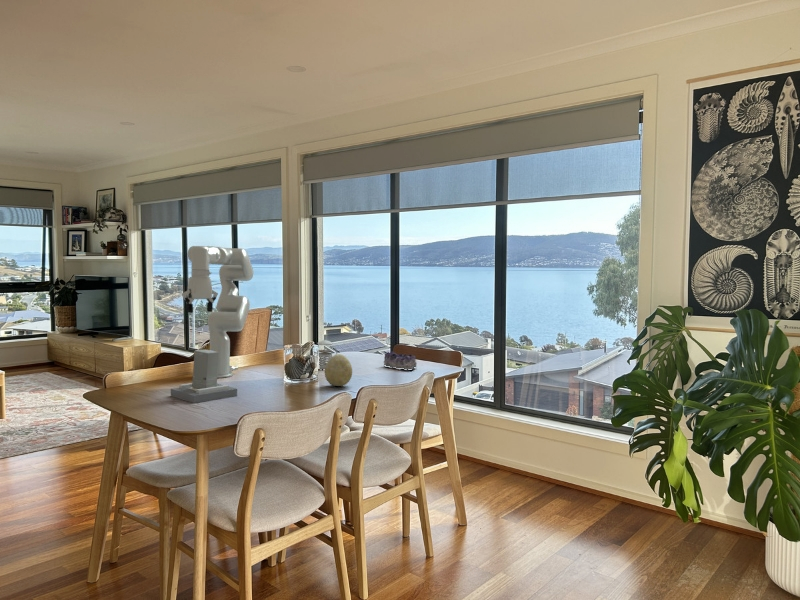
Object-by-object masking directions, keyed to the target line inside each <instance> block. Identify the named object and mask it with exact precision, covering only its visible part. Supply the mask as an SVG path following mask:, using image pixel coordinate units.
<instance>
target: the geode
mask: <svg viewBox="0 0 800 600" xmlns="http://www.w3.org/2000/svg"><path fill="white" fill-rule="evenodd" d="M383 360H384V361H383V366H384V365H386V366H390V367H396V368H404V369H413V368H414V367H416V368H417V360H416V356H415V355H413V354H402V353H399V354H397V353H396V352H395V351H393V350H391V351H390V352H389V351H387V352H386V353H384V359H383ZM414 369H415V368H414ZM414 369H413V370H414Z"/></svg>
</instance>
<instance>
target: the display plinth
mask: <svg viewBox="0 0 800 600" xmlns="http://www.w3.org/2000/svg"><path fill="white" fill-rule="evenodd" d="M178 386H179V387H174V388H170V397H173V398H176V399H179V400H183V401H186V402H189V403H193V404H198V403H203V402H209V401H210V402H211V401H215V399H216V400H220V399H221V398H222V399H227V397H228V398H232V397H238V388H236V387H231V386H230V385H228V384H220V383H217V386H216V387H210V388H203V389H196V388H192V382H190V383H183V384H179V385H178ZM222 399H221V400H222Z"/></svg>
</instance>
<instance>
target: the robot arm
mask: <svg viewBox="0 0 800 600" xmlns="http://www.w3.org/2000/svg"><path fill="white" fill-rule="evenodd" d="M187 258H188V260H189V261H190V262H191V271H190V273H191V276H189V278H188V283H187V290H186V291H184V292H183V293H181V296H182V298H183V300H184V302H185V303H186V305H187V306H186V309H187V313H188V314H189V313H190V314H192V313H193V312H194V304H193V302H194V301H195V300H206V301H207V302H206V312H209V315H208V318H207V325H208V326H207V327H208V331H209V333H208V334H209V350H212V351H216V352H219V359H218V374H217V379H218V378H219V379H221V378H222V379H223V378H229V377H232V376H233V375H234V373H233V371H238V370H239V366H236V365H235V366H231V364H230V362H231V361H230V360H231V359H230V357H231V355H230V354H231V353H230V352H231V339H230V337H229V335H228V334H227V332H242V330H243V329H244V328H245V324H246V321H247V318H248V314H249V311H250V300H249V299H248V297H247V296H244V295H239V294H240V293H239V292H240V291H239V290H240V289H239V288H238V287H237V286H236V284H235V283H234V282H235V281H236V282H238V281H240V282H248V281H251V280H252V279H253V277H254V270H253V269H254V268H253V266H252V263H251V260H250V259H251V258H250V257H249V254H248V252H247V251H246V249H244V248H239V247H238V248H234V247H233V248H231V247H222V246H209V245H207V246H206V245H192V246H190V247H189V248H188V250H187ZM210 265H221V266H220V267H219V269H218V273H219V280H220V285H221V291H220V294H219V293H218V292H216V291H214V290H213V287H212V286H213V285H212V279H211V277H210V275H211V274H212V271H210ZM233 281H234V282H233ZM218 295H219V296H218ZM217 296H218V299H217ZM216 300H217V303H216V311H214V312H213V310H214V309H213V307H214V306H213V304H214V303H215V301H216Z"/></svg>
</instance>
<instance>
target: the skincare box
mask: <svg viewBox="0 0 800 600" xmlns="http://www.w3.org/2000/svg"><path fill="white" fill-rule="evenodd" d="M193 354H194V356H193V366H192V367H193V369H192V382H191V383H192V388H196V389H203V388H210V387H216V386H217V384H218V378H217V374H218V359H219V352H216V351H212V350H210V349H195V350H194V353H193Z"/></svg>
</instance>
